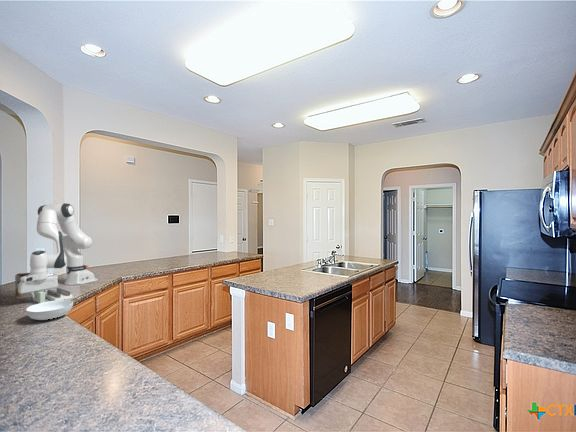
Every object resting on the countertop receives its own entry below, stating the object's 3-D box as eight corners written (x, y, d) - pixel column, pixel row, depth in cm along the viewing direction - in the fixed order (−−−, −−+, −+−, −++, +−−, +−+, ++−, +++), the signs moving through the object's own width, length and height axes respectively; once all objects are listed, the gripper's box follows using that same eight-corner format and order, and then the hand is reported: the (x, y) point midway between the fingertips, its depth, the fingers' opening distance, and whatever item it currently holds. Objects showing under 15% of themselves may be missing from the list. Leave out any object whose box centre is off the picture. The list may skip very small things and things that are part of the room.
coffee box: (35, 294, 207) (35, 272, 207) (32, 297, 201) (32, 274, 201) (18, 296, 203) (18, 273, 202) (14, 299, 197) (14, 275, 197)
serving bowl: (67, 308, 182) (67, 297, 181) (78, 316, 168) (78, 304, 168) (22, 317, 165) (22, 305, 165) (30, 327, 152) (30, 314, 152)
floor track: (61, 293, 211) (61, 287, 211) (72, 297, 202) (72, 291, 202) (44, 297, 202) (44, 290, 202) (55, 301, 193) (55, 294, 193)
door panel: (37, 299, 197) (37, 289, 196) (45, 303, 190) (45, 292, 190) (33, 300, 195) (33, 290, 194) (40, 304, 188) (40, 293, 188)
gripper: (55, 272, 202) (55, 292, 203) (16, 278, 185) (17, 300, 185) (59, 273, 199) (59, 294, 200) (20, 279, 182) (20, 301, 182)
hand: (38, 297), depth 192 cm, fingers open, 3 cm apart
